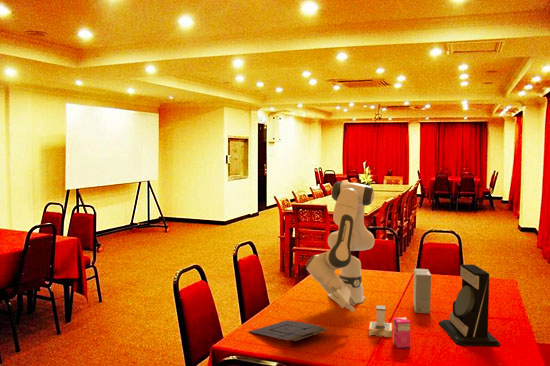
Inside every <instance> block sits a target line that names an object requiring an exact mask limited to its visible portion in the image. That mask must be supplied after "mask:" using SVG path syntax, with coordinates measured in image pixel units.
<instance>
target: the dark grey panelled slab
mask: <svg viewBox="0 0 550 366" xmlns="http://www.w3.org/2000/svg"><path fill="white" fill-rule="evenodd" d="M326 331H329V328H325V327H324V326H321V325H316V324H313V323H307V322H301V321H294V320H288V319H287V320H283V321H280V322H276V323H274V324H270V325H266V326H264V327H259V328H256V329H251V330H249V331H248V332H249V333H252V334H259V335H261V336H262V335H263V336H267V337H271V338H274V339H279V340H285V341H295V342H296V341H300V340H303V339H306V338H308V337H311V336H314V335H318V334H321V333H323V332H326Z"/></svg>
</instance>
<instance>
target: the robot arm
mask: <svg viewBox="0 0 550 366" xmlns="http://www.w3.org/2000/svg"><path fill="white" fill-rule="evenodd" d="M330 193H331V198H332V199H333V200H334V201H335V205H334V209H333V213H332V214H333V215H332V217H333V218H332V219H333V222H334V223H335V225H337V226H338V230H337V231H333V232H330V234H329V235H328V237H327V243H328V244H327V245H328V247H329V248H330V250H328V251H325V252H322V253H319V254H313V255H312V256H311V257H310V258H309V260H308V261H307V262H306V264H305V265H306V266H305V267H306V270H307V271H308V273H309V274H310V276H312V278H313V279H314V280H315V281H316V282H318V283H319V285H320V286H321V287H322V288H323V290H324V291H325V292H326V293H327V297H329V298H330V299H332V300H333V301H334V302H335V303H337V304H338V306H340V308H341V309H344V308H346V309H348V310H349V311H350V312H351V313H353V312H355V310H356V309H355V307H354V306H355V305H356V304H361V303H363V302H364V301H365V299H366V297H365V295H364V287H363V284H362V280H363V278H362V277H363V276H362V263H361V260H360V259H359V258H357V257H356V256H353V255H352V251H361V252H362V251H367V250H371V249H372V248H373V247H374V245H375V241H376V239H375V237H374V234H373V233H372V232H371V231H370V230H368V229H367V227H366V225H365V220H364V219H365V207H366V206H370V205H372V203H373V201H374V200H375V191H374V188H373V187H372V186H370V185H368V184H366V185H365V184H362V183H357V182H349V181H348V182H345V181H344V182H343V181H336V182H334V183H333V185H332V187H331V192H330ZM337 270H340V274H339V275H337V273H336V271H337Z"/></svg>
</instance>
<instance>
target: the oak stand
mask: <svg viewBox="0 0 550 366" xmlns="http://www.w3.org/2000/svg"><path fill="white" fill-rule="evenodd" d="M371 335H376V336H375V337H383V336H384V337H385V338H393V323H392V322H385V328H381V327H376V321H369V327H368V336H371ZM384 337H383V338H384Z"/></svg>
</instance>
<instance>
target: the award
mask: <svg viewBox="0 0 550 366" xmlns="http://www.w3.org/2000/svg"><path fill="white" fill-rule="evenodd" d="M459 273H460V277H459V278H461V289H460V290H459V291H458V293H457V296H456V298H455V301H453V302H452V311H451V312H450V315H449V319H442V320H440V321H438V325H439V326H440V327H441V328H442V330H443V331H445V332H446V334H447V335H448V337H450V339H452V340H453V342H454V343H455V344H456V345H458V346H462V347H500V346H501V342H499V341H498V339H497V338H496V337H494V335H492V334H491V333H490V332H489V300H490V299H489V298H490V273H489V272H488V271H486V270H484V269H482V268H480V267H479V266H478V265H475V264H464V263H463V264H461V265H460V272H459Z"/></svg>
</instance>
